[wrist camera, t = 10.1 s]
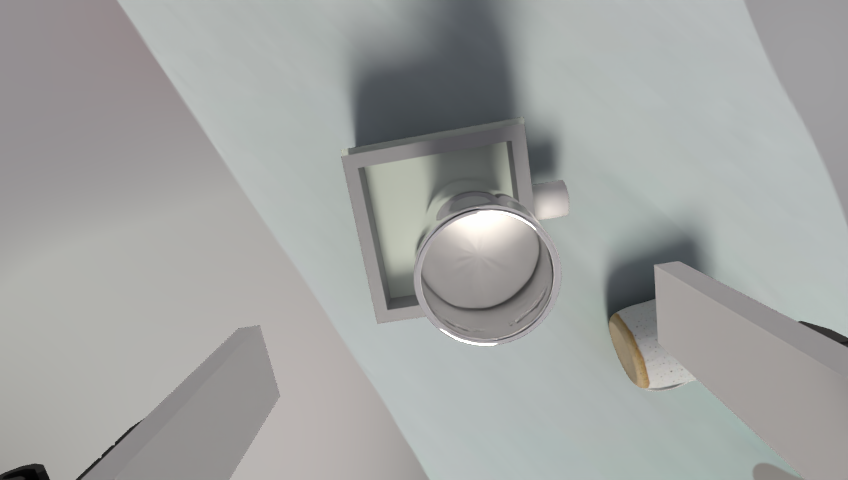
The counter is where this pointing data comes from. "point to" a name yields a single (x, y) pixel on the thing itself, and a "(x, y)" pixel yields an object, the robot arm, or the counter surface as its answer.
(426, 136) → the grey box with knob
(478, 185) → the beer glass
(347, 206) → the counter surface
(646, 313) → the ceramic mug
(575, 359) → the counter surface
